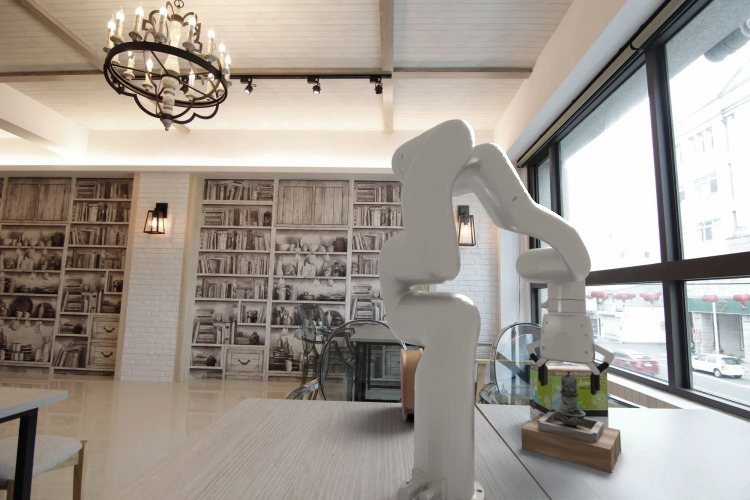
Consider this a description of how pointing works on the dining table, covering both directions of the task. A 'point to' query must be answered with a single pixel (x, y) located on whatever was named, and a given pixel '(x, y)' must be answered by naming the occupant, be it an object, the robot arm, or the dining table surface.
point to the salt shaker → (570, 404)
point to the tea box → (550, 396)
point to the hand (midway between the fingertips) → (568, 389)
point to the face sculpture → (408, 379)
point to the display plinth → (573, 441)
